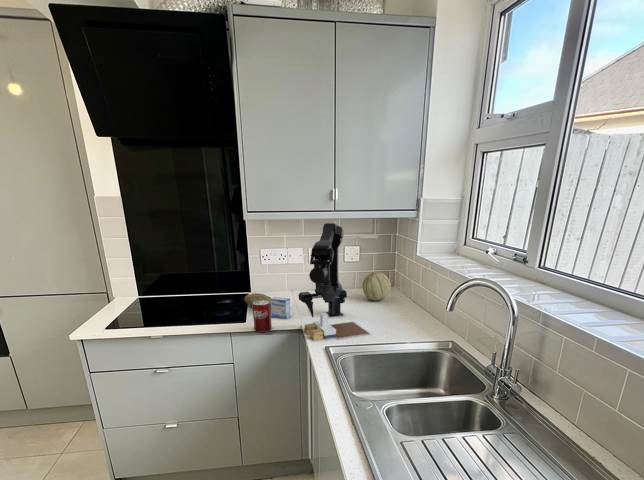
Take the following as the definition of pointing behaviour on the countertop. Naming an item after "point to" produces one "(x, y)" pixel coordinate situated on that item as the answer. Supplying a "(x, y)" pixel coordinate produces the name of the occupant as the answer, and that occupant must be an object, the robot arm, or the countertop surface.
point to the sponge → (257, 298)
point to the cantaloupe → (376, 286)
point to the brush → (325, 326)
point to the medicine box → (280, 307)
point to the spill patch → (348, 330)
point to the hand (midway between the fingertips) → (323, 315)
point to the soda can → (262, 316)
